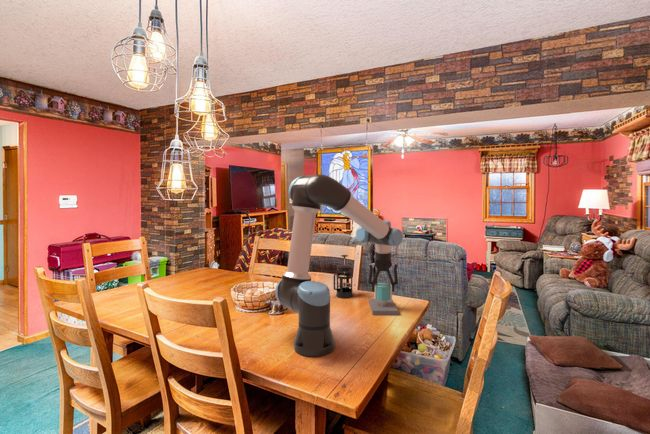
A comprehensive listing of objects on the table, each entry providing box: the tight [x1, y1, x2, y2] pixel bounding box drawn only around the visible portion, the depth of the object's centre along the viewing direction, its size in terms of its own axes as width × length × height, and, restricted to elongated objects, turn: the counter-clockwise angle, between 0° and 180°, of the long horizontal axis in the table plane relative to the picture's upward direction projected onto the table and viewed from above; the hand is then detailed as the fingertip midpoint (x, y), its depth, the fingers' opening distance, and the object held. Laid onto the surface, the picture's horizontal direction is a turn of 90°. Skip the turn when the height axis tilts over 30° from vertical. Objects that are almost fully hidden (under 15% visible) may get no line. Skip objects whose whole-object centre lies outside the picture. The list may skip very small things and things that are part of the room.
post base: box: [368, 298, 399, 316], centre depth 162 cm, size 18×12×11 cm, turn 178°
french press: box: [333, 254, 354, 299], centre depth 182 cm, size 12×9×23 cm
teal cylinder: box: [375, 282, 391, 301], centre depth 161 cm, size 7×7×7 cm
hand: (382, 298), depth 162 cm, fingers closed on teal cylinder, 7 cm apart
